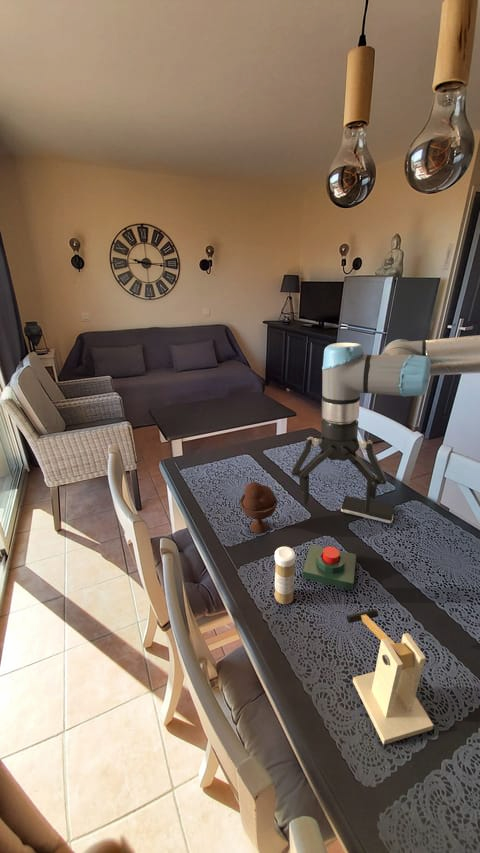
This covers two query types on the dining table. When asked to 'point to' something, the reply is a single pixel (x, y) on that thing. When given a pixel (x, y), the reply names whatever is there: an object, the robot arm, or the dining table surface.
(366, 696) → the wooden lever stand
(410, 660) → the lever
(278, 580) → the sprinkles bottle
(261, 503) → the ice cream bowl
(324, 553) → the button
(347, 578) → the off panel
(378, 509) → the smartphone
